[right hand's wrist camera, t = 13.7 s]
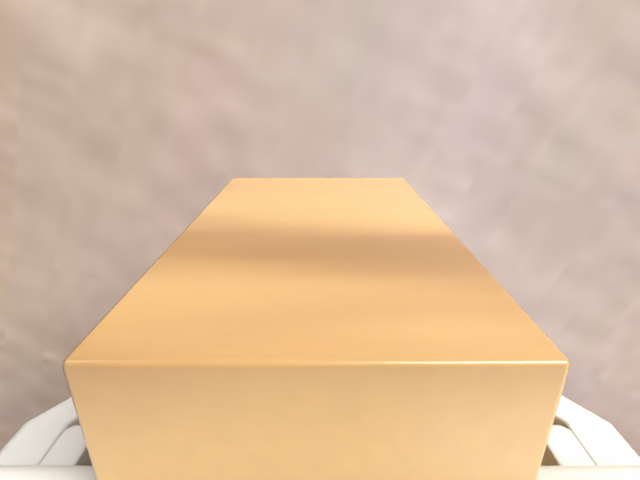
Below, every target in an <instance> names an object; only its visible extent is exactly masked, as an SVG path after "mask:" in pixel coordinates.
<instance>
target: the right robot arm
mask: <svg viewBox="0 0 640 480" xmlns="http://www.w3.org/2000/svg"><path fill="white" fill-rule="evenodd" d="M0 480H96V476H95V473H94V470H93V466H92V463H91V460H90V457H89V453H88V450H87V447H86V443H85V440H84V437H83V434H82V430H81V427H80V424H79V420H78V417H77V414H76V410H75V407H74V404H73V401H72V397H70V398H68V399H67V400H65V401H63V402H61V403H59V404H58V405H56V406H54V407H52V408H51V409H49V410H47V411H45V412H44V413H42V414H40V415H38V416H36V417H35V418H33V419H31V420H29V421H28V422H26V423H24V425H23V426H22V427H21V428H20V429H19V430H18V431H17V433H16V434H15V435H14V436H13V437H12V438H11V439H10V441H9V442H8V443H7V444H6V445H5V446H4V447H3V448H2V450H1V451H0ZM536 480H640V457H639V456H638V455H637V454H636V453H635V451H634V450H633V449H632V448H631V447H630V446H629V444H628V443H627V442H626V441H625V440H624V439H623V437H622V436H621V435H620V434H619V433H618V432H617V430H616V429H615V428H614V427H613V426H612V425H611V424H610V423H609V422H607V421H605V420H603V419H602V418H600V417H598V416H596V415H595V414H593V413H591V412H589V411H588V410H586V409H584V408H582V407H581V406H579V405H577V404H575V403H574V402H572V401H570V400H569V399H567V398H565V397H563V396H562V395H561V398H560V401H559V405H558V408H557V411H556V415H555V418H554V422H553V425H552V428H551V432H550V435H549V439H548V442H547V445H546V449H545V452H544V456H543V459H542V462H541V466H540V469H539V473H538V476H537V479H536Z"/></svg>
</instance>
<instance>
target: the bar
mask: <svg viewBox="0 0 640 480" xmlns="http://www.w3.org/2000/svg"><path fill="white" fill-rule="evenodd" d="M569 367H570V366H569V361H568V359H567V358H566V357H565V356H564V355H563V353H562V352H561V351H560V350H559V349H558V348H557V347H556V346H555V345H554V344H553V342H552V341H551V340H550V339H549V338H548V337H547V336H546V335H545V334H544V333H543V331H542V330H541V329H540V328H539V327H538V326H537V325H536V324H535V323H534V322H533V320H532V319H531V318H530V317H529V316H528V315H527V314H526V313H525V312H524V311H523V309H522V308H521V307H520V306H519V305H518V304H517V303H516V302H515V301H514V300H513V298H512V297H511V296H510V295H509V294H508V293H507V292H506V291H505V290H504V289H503V287H502V286H501V285H500V284H499V283H498V282H497V281H496V280H495V279H494V278H493V276H492V275H491V274H490V273H489V272H488V271H487V270H486V269H485V268H484V266H483V265H482V264H481V263H480V262H479V261H478V260H477V259H476V258H475V257H474V255H473V254H472V253H471V252H470V251H469V250H468V249H467V248H466V247H465V246H464V244H463V243H462V242H461V241H460V240H459V239H458V238H457V237H456V236H455V235H454V233H453V232H452V231H451V230H450V229H449V228H448V227H447V226H446V225H445V224H444V222H443V221H442V220H441V219H440V218H439V217H438V216H437V215H436V214H435V213H434V211H433V210H432V209H431V208H430V207H429V206H428V205H427V204H426V203H425V202H424V200H423V199H422V198H421V197H420V196H419V195H418V194H417V193H416V192H415V191H414V189H413V188H412V187H411V186H410V185H409V184H408V183H407V182H406V181H405V180H404V179H403V178H233V179H232V180H231V181H230V182H229V183H228V184H227V185H226V186H225V187H224V189H223V190H222V191H221V192H220V193H219V194H218V195H217V196H216V197H215V198H214V199H213V200H212V201H211V203H210V204H209V205H208V206H207V207H206V208H205V209H204V210H203V211H202V212H201V213H200V214H199V215H198V217H197V218H196V219H195V220H194V221H193V222H192V223H191V224H190V225H189V226H188V227H187V228H186V229H185V231H184V232H183V233H182V234H181V235H180V236H179V237H178V238H177V239H176V240H175V241H174V242H173V243H172V245H171V246H170V247H169V248H168V249H167V250H166V251H165V252H164V253H163V254H162V255H161V256H160V257H159V259H158V260H157V261H156V262H155V263H154V264H153V265H152V266H151V267H150V268H149V269H148V270H147V271H146V273H145V274H144V275H143V276H142V277H141V278H140V279H139V280H138V281H137V282H136V283H135V284H134V286H133V287H132V288H131V289H130V290H129V291H128V292H127V293H126V294H125V295H124V296H123V297H122V298H121V300H120V301H119V302H118V303H117V304H116V305H115V306H114V307H113V308H112V309H111V310H110V311H109V312H108V314H107V315H106V316H105V317H104V318H103V319H102V320H101V321H100V322H99V323H98V324H97V325H96V326H95V328H94V329H93V330H92V331H91V332H90V333H89V334H88V335H87V336H86V337H85V338H84V339H83V340H82V342H81V343H80V344H79V345H78V346H77V347H76V348H75V349H74V350H73V351H72V352H71V353H70V354H69V356H68V357H67V358H66V359H65V360H64V362H63V367H62V368H63V371H64V374H65V378H66V381H67V384H68V387H69V391H70V394H71V397H72V401H73V404H74V407H75V410H76V414H77V417H78V420H79V424H80V427H81V430H82V434H83V437H84V440H85V443H86V447H87V450H88V453H89V457H90V460H91V463H92V466H93V470H94V473H95V476H96V480H536V479H537V476H538V473H539V469H540V466H541V462H542V459H543V456H544V452H545V449H546V445H547V442H548V439H549V435H550V432H551V428H552V425H553V422H554V418H555V415H556V411H557V408H558V405H559V401H560V398H561V394H562V391H563V387H564V384H565V381H566V377H567V374H568V370H569Z"/></svg>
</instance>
